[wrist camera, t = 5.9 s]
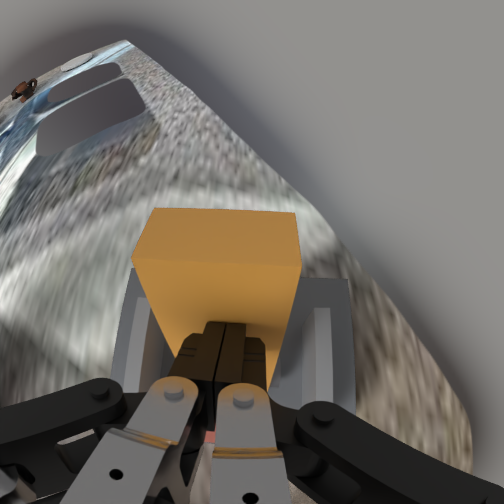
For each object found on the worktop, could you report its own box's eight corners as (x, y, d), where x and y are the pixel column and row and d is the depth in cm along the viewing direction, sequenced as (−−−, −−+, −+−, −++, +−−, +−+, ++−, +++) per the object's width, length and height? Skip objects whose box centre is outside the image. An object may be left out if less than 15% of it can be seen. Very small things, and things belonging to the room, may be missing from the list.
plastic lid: (98, 55, 77) (97, 50, 75) (80, 68, 70) (78, 63, 68) (74, 62, 78) (73, 57, 76) (56, 76, 71) (54, 71, 69)
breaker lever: (181, 388, 17) (111, 256, 8) (186, 355, 18) (136, 207, 10) (277, 394, 17) (326, 267, 8) (277, 361, 18) (314, 214, 9)
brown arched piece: (16, 109, 59) (6, 95, 54) (22, 110, 66) (13, 97, 61) (40, 85, 61) (30, 71, 55) (44, 88, 68) (34, 75, 62)
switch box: (134, 420, 20) (78, 422, 12) (151, 295, 27) (114, 242, 19) (331, 433, 20) (379, 445, 12) (328, 304, 27) (364, 254, 18)
